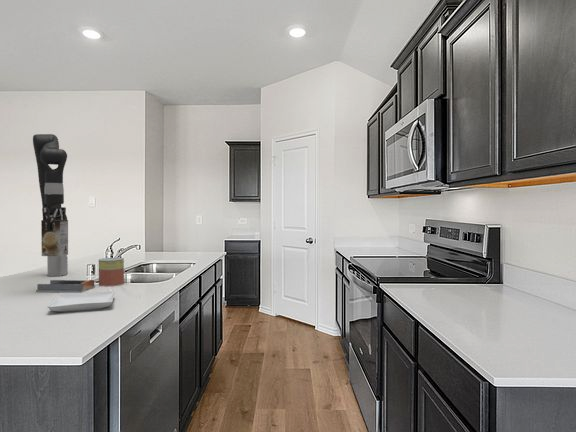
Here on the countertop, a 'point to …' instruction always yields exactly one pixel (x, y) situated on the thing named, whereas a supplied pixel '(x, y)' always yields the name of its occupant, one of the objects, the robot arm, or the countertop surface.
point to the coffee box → (55, 238)
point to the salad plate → (81, 301)
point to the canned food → (111, 271)
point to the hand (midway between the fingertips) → (54, 230)
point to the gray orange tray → (66, 286)
